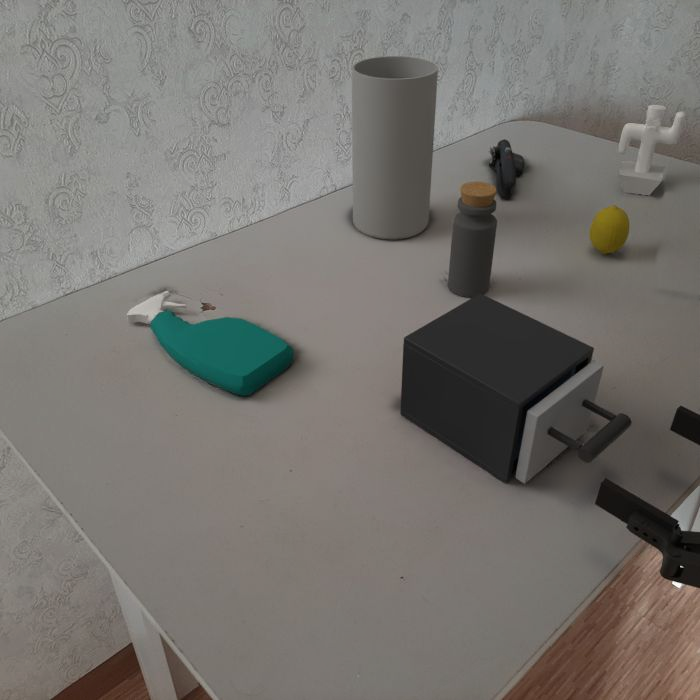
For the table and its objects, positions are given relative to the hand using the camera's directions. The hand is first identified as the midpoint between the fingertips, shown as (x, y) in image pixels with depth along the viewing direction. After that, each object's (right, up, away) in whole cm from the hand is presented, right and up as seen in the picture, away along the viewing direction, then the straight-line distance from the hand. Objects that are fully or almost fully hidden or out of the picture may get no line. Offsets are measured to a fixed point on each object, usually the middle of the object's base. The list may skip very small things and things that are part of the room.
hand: (639, 452), depth 65 cm
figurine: (+25, +38, +64) cm, 79 cm away
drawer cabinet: (-11, +2, +14) cm, 18 cm away
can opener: (+2, +40, +67) cm, 78 cm away
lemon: (+13, +24, +45) cm, 52 cm away
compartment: (-8, 0, +11) cm, 13 cm away
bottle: (-10, +18, +37) cm, 42 cm away
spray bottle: (-45, +10, +26) cm, 53 cm away
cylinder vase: (-20, +30, +53) cm, 64 cm away
